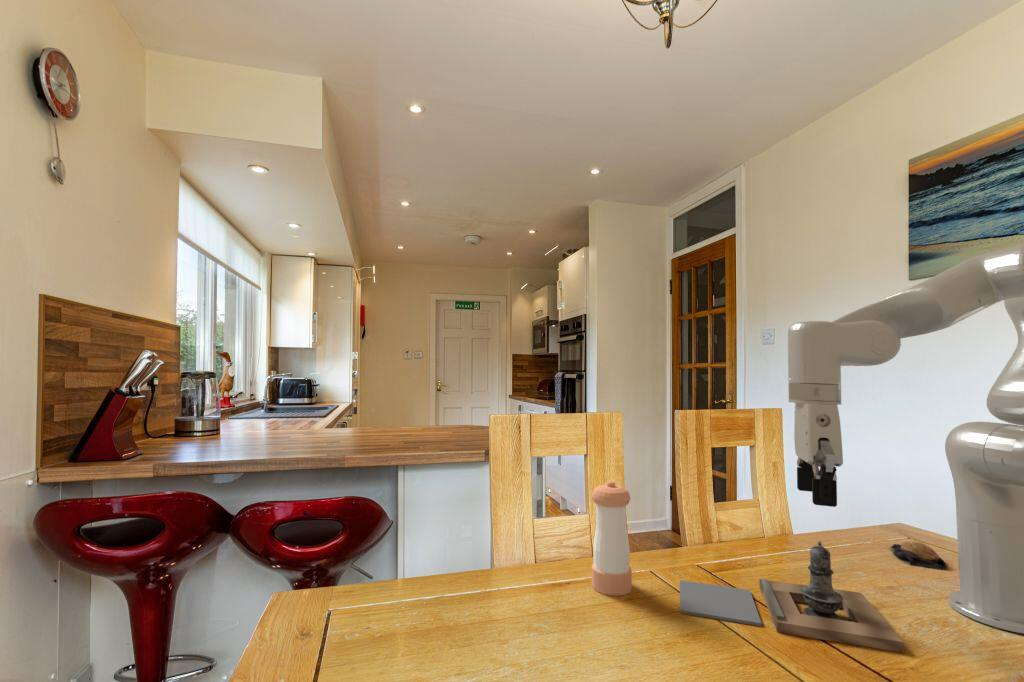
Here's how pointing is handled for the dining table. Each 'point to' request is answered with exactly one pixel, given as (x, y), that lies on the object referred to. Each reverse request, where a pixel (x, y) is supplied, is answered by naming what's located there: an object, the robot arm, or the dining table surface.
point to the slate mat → (718, 602)
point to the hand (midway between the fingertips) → (815, 497)
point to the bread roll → (918, 555)
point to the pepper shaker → (611, 541)
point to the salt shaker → (821, 586)
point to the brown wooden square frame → (860, 631)
